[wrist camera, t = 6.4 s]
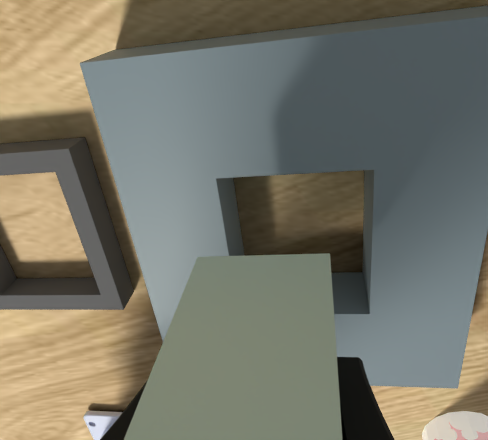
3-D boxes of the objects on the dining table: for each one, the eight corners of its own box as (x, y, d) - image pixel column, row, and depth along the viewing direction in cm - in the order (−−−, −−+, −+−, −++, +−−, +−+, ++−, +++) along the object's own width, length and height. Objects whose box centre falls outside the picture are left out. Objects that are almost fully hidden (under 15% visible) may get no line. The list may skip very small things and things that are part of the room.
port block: (440, 340, 22) (457, 388, 20) (188, 337, 25) (174, 379, 22) (490, 5, 14) (528, 11, 12) (114, 49, 17) (79, 62, 14)
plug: (333, 371, 15) (353, 721, 8) (222, 369, 15) (150, 687, 8) (330, 253, 12) (354, 611, 5) (197, 257, 13) (69, 575, 6)
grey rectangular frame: (133, 291, 24) (123, 309, 22) (8, 292, 25) (-9, 309, 24) (84, 137, 19) (68, 148, 18) (-65, 149, 21) (-90, 160, 19)
